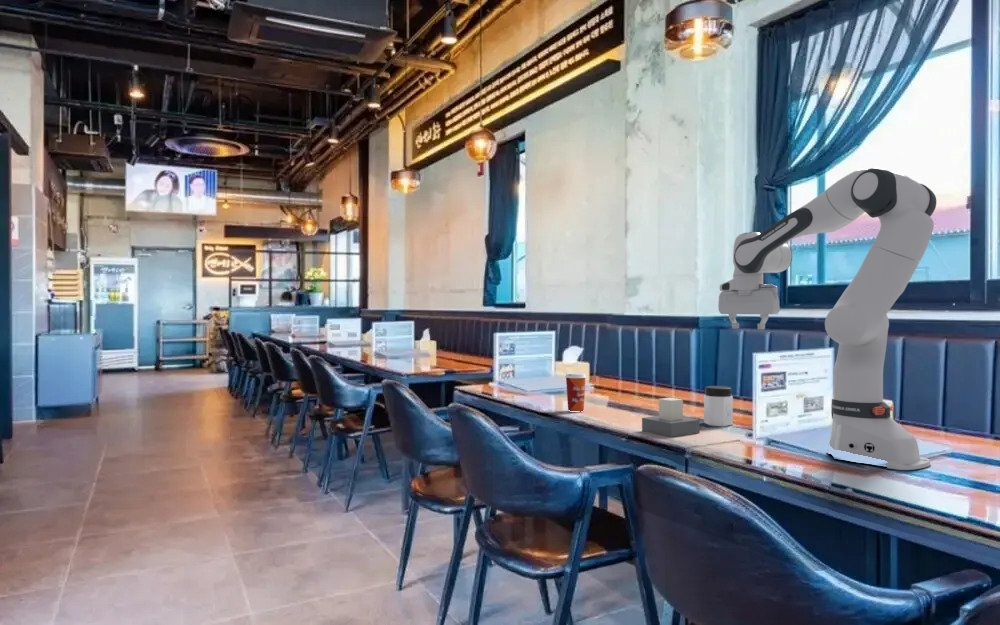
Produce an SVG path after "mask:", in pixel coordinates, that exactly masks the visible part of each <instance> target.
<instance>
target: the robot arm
mask: <svg viewBox="0 0 1000 625" xmlns="http://www.w3.org/2000/svg"><path fill="white" fill-rule="evenodd" d="M936 208H937V197H936V195H935V193H934V191H932V189H931V188H929V187H928V186H927V185H925V184H923V183H919V182H918V181H915V180H914V179H912V178H911V177H909V176H908V175H904V174H902V173H900V172H895V171H891V170H890V169H886V168H883V167H882V168H881V167H872V168H859V169H856V170H854V171H852V172H850V173H849V174H847V175H845V176H844V177H842V178H840V179H838V181H836V182H834V183H833V184H832V185H831V186H829V187H828V188H827V189H825V190H824V191H823V192H821V193H819V195H817V196H816V197H814V198H813V199H812V200H810V201H809V202H808V203H806V204H804V205H803V206H801V207H799V208H798V209H796V210H794V211H793V212H791V213H789V214H787V215H785V217H783V218H781V219H780V220H778V221H777V222H775V223H774V224H772V225H771V226H770V227H768V228H767V229H765V230H763V231H762V232H757V231H749V232H743V233H741V234H738V235H737V236H736V238H735V240H734V244H733V250H732V251H733V252H732V253H733V254H732V255H733V256H732V262H733V265H734V270H733V274H732V275H733V276H732V279H730V280H728V281H726V282H723V283H722V284H720V285H719V291H720V293H719V295H718V306H717V308H718V311H719V313H720V315H728V318H729V321H730V323H731V329H736V330H737V329H740V323H739V322H738V321H737V320H736V318H737V315H760V317H759V318H760V319H761V320H760V322H759V323H757V324H756V325H757V330H766V324H767V322H768V320H769V318H770V316H769V315H778V313H779V312H780V310H781V309H780V299H779V288H778V287H777V285H774V283H767V284H766V283H765V284H764V274H777V273H782V272H784V271H786V270H787V269H788V268H789V267H790V266H791V264H792V262H793V251H792V249H791V247H790V246H789V244H788V243H789V242H791V241H792V240H794V239H796V238H799V237H802V236H807V235H814V234H815V235H816V234H826V233H832V232H836V231H838V230H841V229H843V228H844V227H847V226H848V225H850V224H851V223H853V222H854V221H855V220H857V219H858V218H859V217H861V216H862V215H863V214H864V213H865V214H867V215H868V216H869V217H870V218H874V219H875V218H878V219H879V221H880V228H879V231H878V233H877V235H876V237H875V239H874V241H873V243H872V244H871V246H870V248H869V250H868V251H867V253H866V256H865V257H864V258H863V261H862V263H861V265H860V267H859V269H858V270H857V272H856V274H855V276H854V277H853V278H852V280H851V282H850V283H849V284H848V285H847V287H846V288H845V290H844V291H843V292H842V294H841V296H840V297H839V299H838V300H837V301H836V303H835V305H834V306H833V308H831V310H830V311H829V312H828V314H826V317H825V319H824V320H825V321H824V329H825V332H826V334H827V336H828V337H829V338H830V339H831V340H833V341H834V342H835V343H837V344H838V348H837V355H836V359H835V363H834V365H833V372H832V374H833V376H832V378H833V384H832V385H833V398H831V405H830V406H831V412H830V414H831V418H832V422H831V432H830V439H829V442H828V445H829V444H830V446H831V447H832V448H833V449H834V450H841V451H846V452H850V453H853V454H858V455H863V456H868V457H872V458H876V459H881V460H885V461H887V462H888V463H886V464H885V465H886V467H887V468H886V469H891V470H898V471H912V470H919V469H924V468H928V467H929V466H931V459H929V458H926V457H923V456H921V455H920V449H919V444H918V441H917V439H916V437H915V436H914V434H912V433H910V432H909V431H908V430H906V428H904V427H903V426H902V425H900V424H899V423H898V422H897V421H896V420H894V419H893V418H892V417H891V412H892V411H895V409H893V408H895V406H894V405H888V404H887V403H886V402H885V401H884V366H885V359H886V353H887V352H886V351H887V344H888V333H889V327H890V321H889V317H888V315H887V314H888V312H889V311H890V310H891V309H892V307H893V306H894V304H895V303H896V301H897V300H898V299H899V298H900V296H901V295H902V294H903V293H904V292H905V290H906V289H907V286H908V284H909V282H910V280H911V278H912V277H913V275H914V273H915V272H916V269H917V268H918V266H919V264H920V262H921V261H922V259H923V257H924V255H925V252H926V250H927V248H928V246H929V243H930V241H931V238H932V234H933V231H934V227H935V226H934V224H935V223H934V220H933V219H932V217H931V216H932V215H933V213H934V212H935V210H936Z"/></svg>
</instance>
